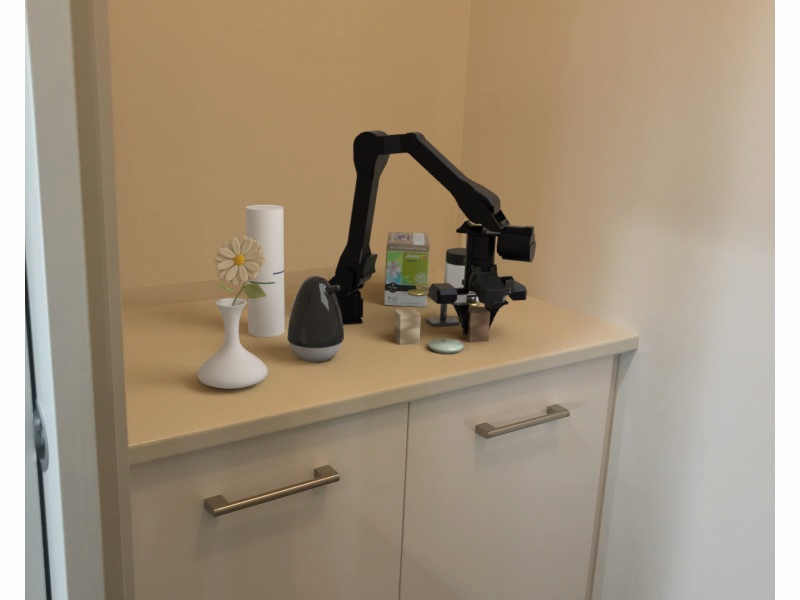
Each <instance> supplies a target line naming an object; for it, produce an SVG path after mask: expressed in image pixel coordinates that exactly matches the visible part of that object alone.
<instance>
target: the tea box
mask: <svg viewBox="0 0 800 600" xmlns="http://www.w3.org/2000/svg"><path fill="white" fill-rule="evenodd" d="M430 243H431V242H430V235H429V233H425V232H424V233H423V232H403V231H402V232H400V231H389V232H388V235H387V242H386V250H385V251H386V252H385V272H384V274H385V275H384V298H383V299H384V300H383V301H384V303H383V304H384V305H385V306H394V307H395V306H396V307H417V308H418V307H420V308H421V307H426V306H427V299H428V298H427V297H428V294H427V295H426V296H410V295H408V290H412V289H417V288H416V285H417V284H418V285H424V286H429V285H428V284H429V268H430V251H431V249H430V247H431V244H430ZM425 291H427V290H425ZM427 292H428V291H427Z"/></svg>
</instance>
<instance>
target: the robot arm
mask: <svg viewBox="0 0 800 600" xmlns="http://www.w3.org/2000/svg"><path fill="white" fill-rule="evenodd" d="M352 143H353V144H352V152H353V153H352V160H353V166H354V169H355V173H356V180H355V187H354V192H353V194H354V195H353V200H352V206H351V207H352V208H351V215H350V221H349V228H348V235H347V240H346V241H347V242H346V245H345V246H344V249H343V251H342V253H341V254H340V256H339V259H338V261H337V264H336V268H335V271H334V276H332V277H331V278H330V279H329V280H327V281H328V282H329V283H330V285H331V286H334V285H340V286H341V290H340V291H337V292H335V295H336V298H337V300H338V304H339V307H340V311H341V315H342V321H343V325H347V324H348V325H349V324H362V323H364V322H363V317H364V299H363V297H362V292H361V291H360V290H362V289H363V288H364V286H365V284H366V282H368V281H369V280H370V279H371V277H372V276H373V274H374V273H376V272H377V271H376V262H377V260H378V254H377V253H372V251H371V245H370V243H371V235H372V231H373V223H374V215H375V210H376V203H377V196H378V189H379V184H380V178H381V176H382V173H383V172H384V170H385V168H386V166H387V164H388V161H389V159H390V156H391V155H396V154H397V155H398V154H408V155H409V156H410V157H412V158H413V160H415V161H416V162H417V163H418V164H419V165H420V166H421V167H422V168H423V169H424V170H426V172H428V174H429V175H431V177H433V178H434V179H435V180H436V181H437V182H439V184H440V185H442V187H444V188H445V190H447V191H448V192H449V193H450V194H451V195H452V197H453V199H454V201H455V203H456V205H457V206H458V208H459V209H460V210H461V212H462V213H463V215H464V216H465V217H466V219H467V220H464V221H463V222H462V224H461V226H459V227H458V228H456V230H455V232H456V234H457V233H458V234H465V236H466V237H465V238H466V239H465V248H466V254H465V259H463V265H465V272H464V279H463V280H462V285H463V286H464V287H462V288H455V287H453V286H452V285H451V284H449V283H444V282H441V283H440V282H439V283H437V282H436V283H432V284H431V285H430V288H429V291H428V298H430V300H432V301H433V302H434V303H435V304H437V305H441V304H447V305H452V307H453V308H454V310H455V311H454V312H456V315H457V318H458V321H459V322H460V327H461V329H462V333H464V334H465V335H467V331H468V309H469V306H470V304H468V303H467V302H466V300H467V297H478V300H479V302H480V304H483V307H484V308H485V309H487V310H488V311H489V312H490V323H489V330H490V329H491V326H492V324H493V321H494V319H495V317H496V316H497V314H498V312H499V310H500V309H501V308H503V306H507V305H509V301H508V300H507V296H508V298H510V299H511V301H513V302H515V301H518V302H519V301H526V300H527V296H528V295H527V294H528V289H527V287H526V286H525V285H524V284H522V283H520V282H519V281H517V280H516V279H515V278H514V277H513V276H512V275H504V276H499V275H498V264H496V263H495V260H496V259H495V257H496V254H498V257H501V259H502V260H505V261H514V262H524V263H525V262H526V263H533V261H534V258H535V254H536V250H537V249H536V247H537V241H536V235H535V226H533V225H526V226H524V225H523V226H521V225H512V224H511V223H510V221H509V220H508V218H507V217H506V215H505V214H504V212H503V210H502V209H501V208H502V207H501V199H500V197H498V195H497V194H496V193H494V192H493V191H491V190H490V189H488V188H487V187H486V186H485V185H483V184H480V183H478V182H476V181H474V180H472V179H471V178H469V177H468V176H466V174H464V173H463V171H461V170H460V169H459V168H458V167H456V166H455V164H453V163H452V162H451V161H450V160H449V159H448V158H447V157H446V156H445V155H444V154H443V153H441V152H440V151H439V149H437V148H436V147H435V146H434V144H432V143H431V142H430V141H429V140H428V139H427V138H426V137H425V135H424V134H423V133H421V132H420V131H411V132H406V133H396V134H388V133H386V131H383V130H379V129H377V130H376V129H375V130H369V131H368V130H365V131H362V132H360V133H359V134H357V135H356V136H355V137H354V139H353V142H352Z"/></svg>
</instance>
